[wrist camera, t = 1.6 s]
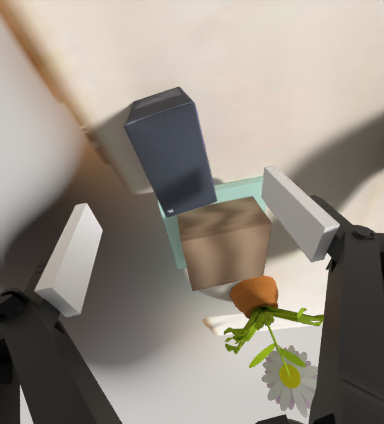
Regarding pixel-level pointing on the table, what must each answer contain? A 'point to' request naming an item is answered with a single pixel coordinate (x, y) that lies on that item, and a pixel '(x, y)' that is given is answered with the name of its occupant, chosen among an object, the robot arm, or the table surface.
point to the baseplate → (223, 194)
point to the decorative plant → (275, 344)
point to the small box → (172, 150)
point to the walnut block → (224, 242)
